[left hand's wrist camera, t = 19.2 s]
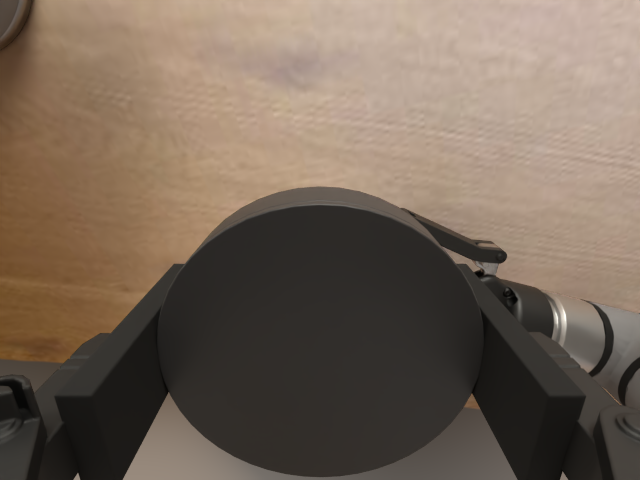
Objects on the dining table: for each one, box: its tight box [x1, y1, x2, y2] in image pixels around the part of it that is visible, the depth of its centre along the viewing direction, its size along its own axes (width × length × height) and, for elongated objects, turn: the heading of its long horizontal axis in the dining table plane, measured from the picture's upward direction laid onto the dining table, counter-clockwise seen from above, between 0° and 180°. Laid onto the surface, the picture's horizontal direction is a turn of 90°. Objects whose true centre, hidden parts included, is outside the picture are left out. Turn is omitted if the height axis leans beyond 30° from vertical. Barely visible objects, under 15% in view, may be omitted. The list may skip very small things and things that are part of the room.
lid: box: [157, 187, 484, 477], centre depth 11 cm, size 9×9×2 cm
